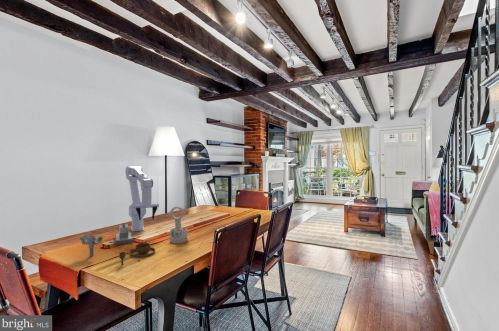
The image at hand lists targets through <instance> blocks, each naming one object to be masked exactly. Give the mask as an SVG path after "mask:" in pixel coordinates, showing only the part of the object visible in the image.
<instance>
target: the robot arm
mask: <svg viewBox="0 0 499 331" xmlns="http://www.w3.org/2000/svg"><path fill="white" fill-rule="evenodd" d="M125 177H126V179H127V180H128V182H129V186H130V193H131V201H132V203H130V205H129V207H128V216H129V217H131V227H130V232H131V233H132V232H139V231H140V232H141V231H145V227H144V217H145V215H146V214H147V209H149V208H150V209H151V210H152V212H151V213H152V216H151V218H152V220H154V219H155V215H156V212H157V210H158V208H159V207H160V204H159V203H152V201H153V200H152V193H153V192H152V191H153V187H154V179H153V178H149V177H148V176H147V175H146V173H145V172H143V167H142V166H141V165H138V166H134V165H133V166H129V165H128V166H126V167H125ZM138 182H139V183H140V185H138ZM139 186H140V191H141V197H140V193H139V192H140V191H139Z"/></svg>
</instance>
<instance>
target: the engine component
mask: <svg viewBox="0 0 499 331" xmlns="http://www.w3.org/2000/svg"><path fill="white" fill-rule="evenodd" d="M176 209H178V210H179V211H180V212H181V215H180V216H179V217H176V216H175V215H174V210H176ZM169 217H170V218H172V219H173V220H174V226H175V227H173V228H170V230H169V235H170V236H169V242H170V243H172V244H181V243H185V242H187V241H188V228H185V230H184V229H183V228H182V218H184V217H186V211H185V210H184V208H183V207H182V206H179V205H178V206H173V208H171V210H169Z"/></svg>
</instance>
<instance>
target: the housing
mask: <svg viewBox="0 0 499 331" xmlns="http://www.w3.org/2000/svg"><path fill="white" fill-rule="evenodd" d="M118 230H119V231H118V232H119V233H118V234H119V237H120V238H128V233H129V224H128V223H122V224H119V229H118Z"/></svg>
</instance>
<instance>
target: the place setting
mask: <svg viewBox="0 0 499 331" xmlns="http://www.w3.org/2000/svg"><path fill="white" fill-rule="evenodd" d="M150 251H152V252H150ZM129 252H130V256H131V257H133V258H139V259H140V258H148V257H149V256H153V255H155V253H156V248H154V247H151V243H148V242H141V243H137V244H136V245H135V248H133V249H130V250H129ZM149 252H150V253H149ZM134 253H136V254H134ZM118 256H119V260H121V261H120V266H124V259H125V258H126V252H125V251H122V252H119V255H118ZM138 262H141V260H138Z"/></svg>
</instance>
